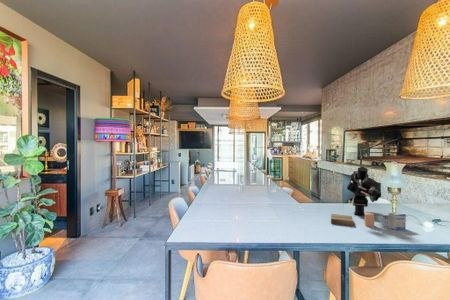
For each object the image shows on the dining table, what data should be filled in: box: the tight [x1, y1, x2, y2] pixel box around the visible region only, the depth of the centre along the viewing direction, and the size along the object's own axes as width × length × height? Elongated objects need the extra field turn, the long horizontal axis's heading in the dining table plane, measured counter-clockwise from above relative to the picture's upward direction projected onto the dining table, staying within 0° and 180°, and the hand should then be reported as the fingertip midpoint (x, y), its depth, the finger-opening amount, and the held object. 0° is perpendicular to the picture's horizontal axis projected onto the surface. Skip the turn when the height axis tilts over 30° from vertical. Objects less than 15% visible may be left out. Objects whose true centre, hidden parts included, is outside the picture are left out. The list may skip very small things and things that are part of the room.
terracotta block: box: [364, 212, 375, 228], centre depth 146 cm, size 4×4×7 cm
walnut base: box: [330, 213, 354, 227], centre depth 152 cm, size 12×12×3 cm
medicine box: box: [387, 212, 407, 231], centre depth 141 cm, size 8×4×9 cm, turn 105°
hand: (365, 198), depth 146 cm, fingers open, 9 cm apart
